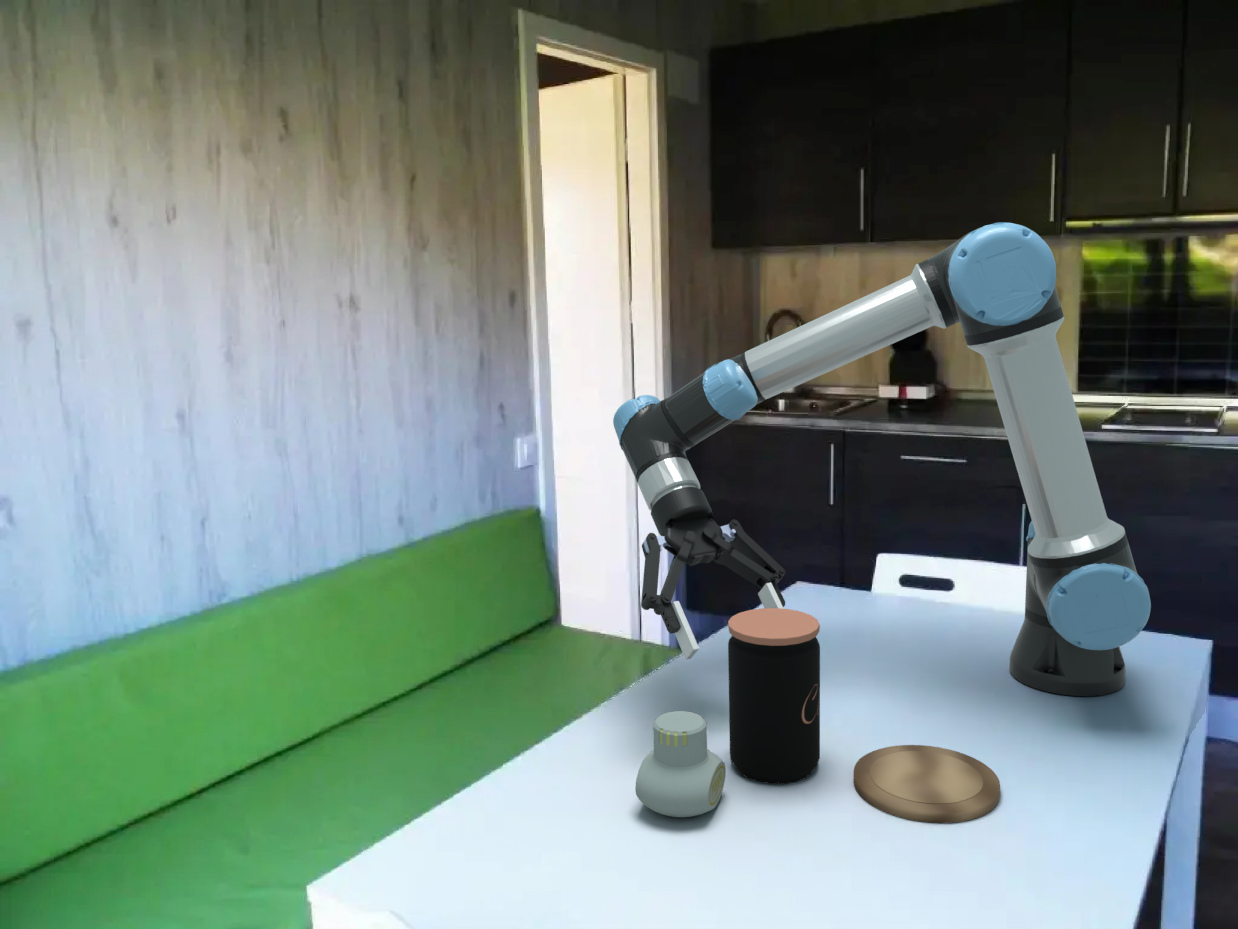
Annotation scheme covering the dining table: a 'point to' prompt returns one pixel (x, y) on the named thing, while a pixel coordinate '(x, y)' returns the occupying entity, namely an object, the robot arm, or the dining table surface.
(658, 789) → the air freshener
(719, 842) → the dining table surface
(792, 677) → the coffee jar
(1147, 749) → the dining table surface
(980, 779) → the trivet
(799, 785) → the dining table surface
